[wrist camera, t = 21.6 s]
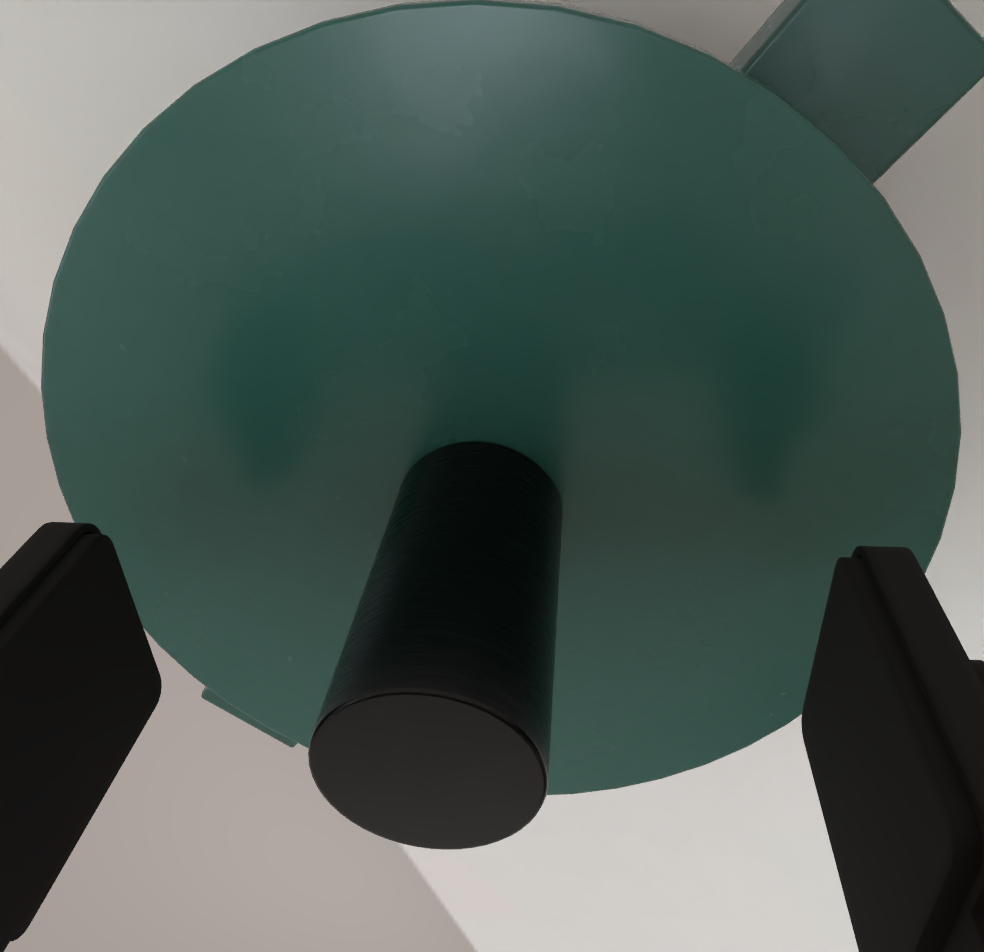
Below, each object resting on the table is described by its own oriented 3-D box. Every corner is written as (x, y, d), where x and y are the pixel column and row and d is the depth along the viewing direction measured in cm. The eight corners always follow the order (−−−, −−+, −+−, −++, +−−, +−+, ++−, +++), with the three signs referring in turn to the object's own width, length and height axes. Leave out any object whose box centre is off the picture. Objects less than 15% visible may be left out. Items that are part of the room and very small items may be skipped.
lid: (1133, 435, 13) (1516, 780, 7) (543, 832, 19) (525, 1160, 14) (367, -309, 9) (54, -669, 4) (-32, 499, 16) (-343, 775, 10)
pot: (990, 172, 18) (1264, 327, 11) (500, 615, 27) (465, 875, 19) (564, -268, 15) (536, -480, 8) (160, 392, 24) (-41, 599, 16)
